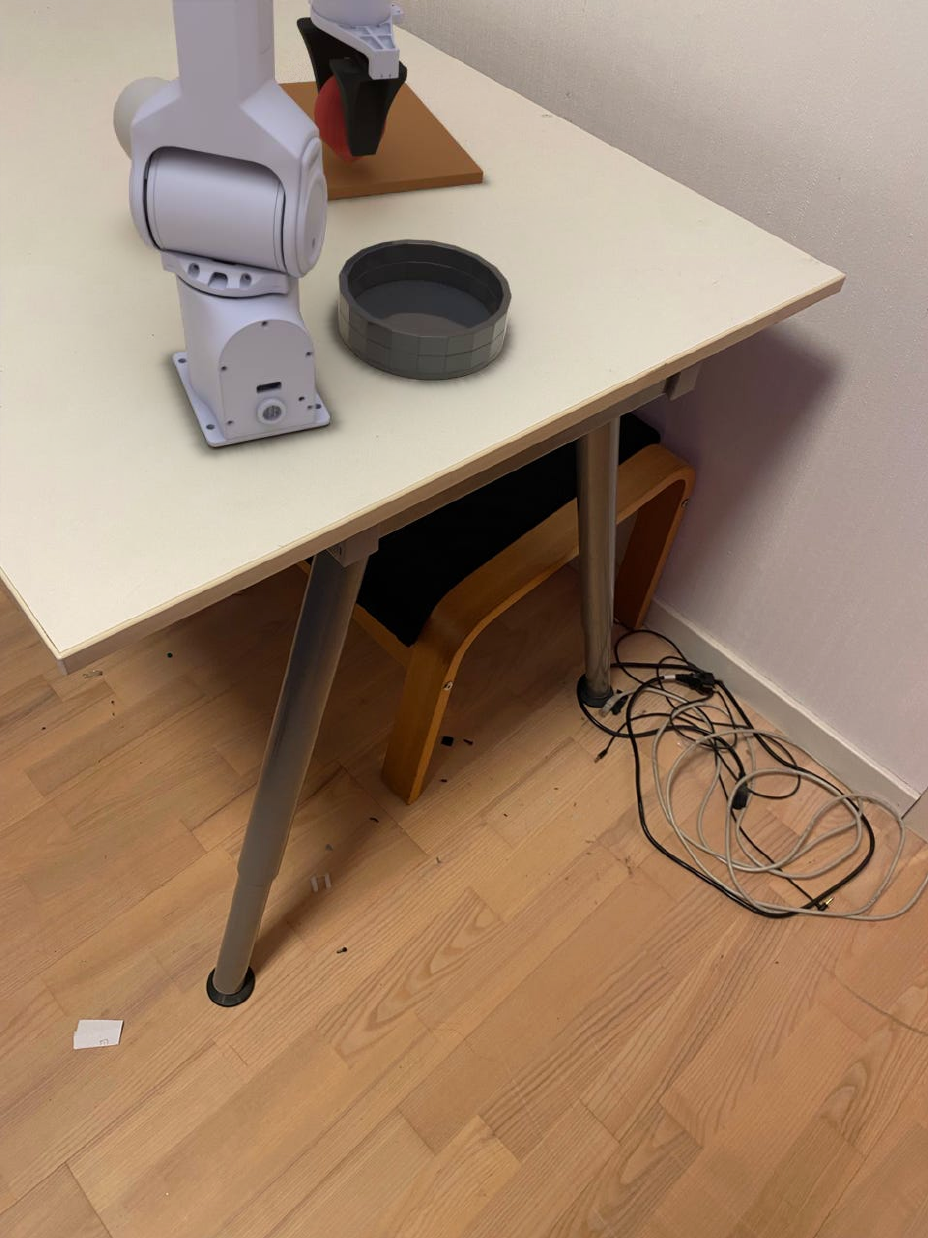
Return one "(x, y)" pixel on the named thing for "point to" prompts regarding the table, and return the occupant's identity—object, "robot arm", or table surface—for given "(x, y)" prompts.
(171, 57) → the table surface
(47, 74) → the table surface
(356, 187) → the mat
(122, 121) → the lightbulb
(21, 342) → the table surface
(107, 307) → the table surface
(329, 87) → the onion
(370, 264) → the pan
